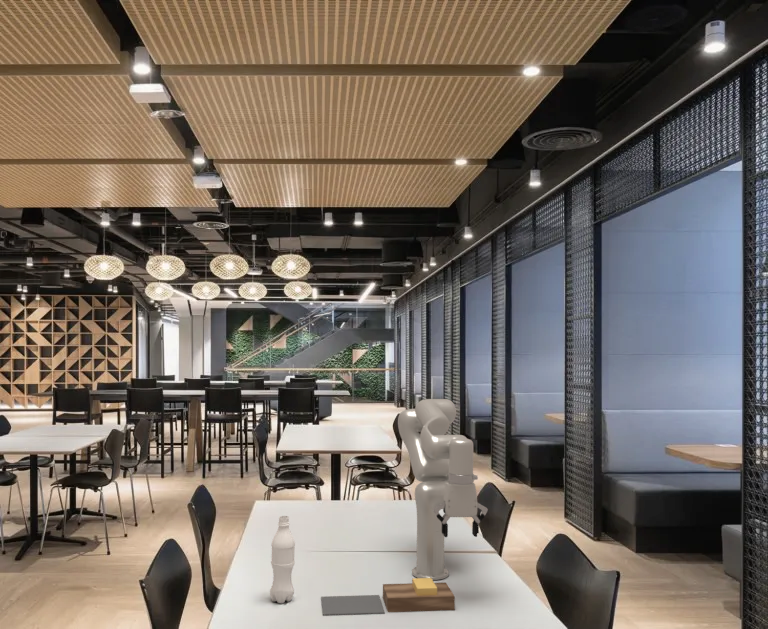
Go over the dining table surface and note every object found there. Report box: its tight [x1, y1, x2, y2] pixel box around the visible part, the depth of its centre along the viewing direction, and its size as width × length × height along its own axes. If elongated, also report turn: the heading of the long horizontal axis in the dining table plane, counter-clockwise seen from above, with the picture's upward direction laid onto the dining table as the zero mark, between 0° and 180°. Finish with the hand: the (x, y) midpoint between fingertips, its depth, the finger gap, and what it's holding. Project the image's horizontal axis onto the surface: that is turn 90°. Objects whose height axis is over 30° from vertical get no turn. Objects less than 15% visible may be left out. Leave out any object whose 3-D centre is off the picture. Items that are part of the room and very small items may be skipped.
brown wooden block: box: [382, 582, 456, 613], centre depth 201 cm, size 12×20×4 cm, turn 97°
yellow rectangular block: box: [411, 577, 437, 596], centre depth 201 cm, size 9×6×2 cm, turn 7°
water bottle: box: [269, 515, 296, 604], centre depth 202 cm, size 7×7×25 cm
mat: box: [320, 594, 386, 617], centre depth 198 cm, size 14×18×1 cm
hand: (460, 535), depth 203 cm, fingers open, 8 cm apart
